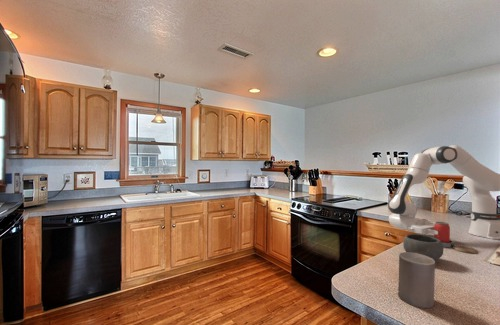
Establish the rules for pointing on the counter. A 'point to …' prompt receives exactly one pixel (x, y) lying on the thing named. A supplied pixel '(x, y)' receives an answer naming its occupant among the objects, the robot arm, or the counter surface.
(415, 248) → the bowl
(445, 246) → the can collar
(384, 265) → the counter surface
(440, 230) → the beer can
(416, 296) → the pillar candle
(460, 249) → the walnut coaster
